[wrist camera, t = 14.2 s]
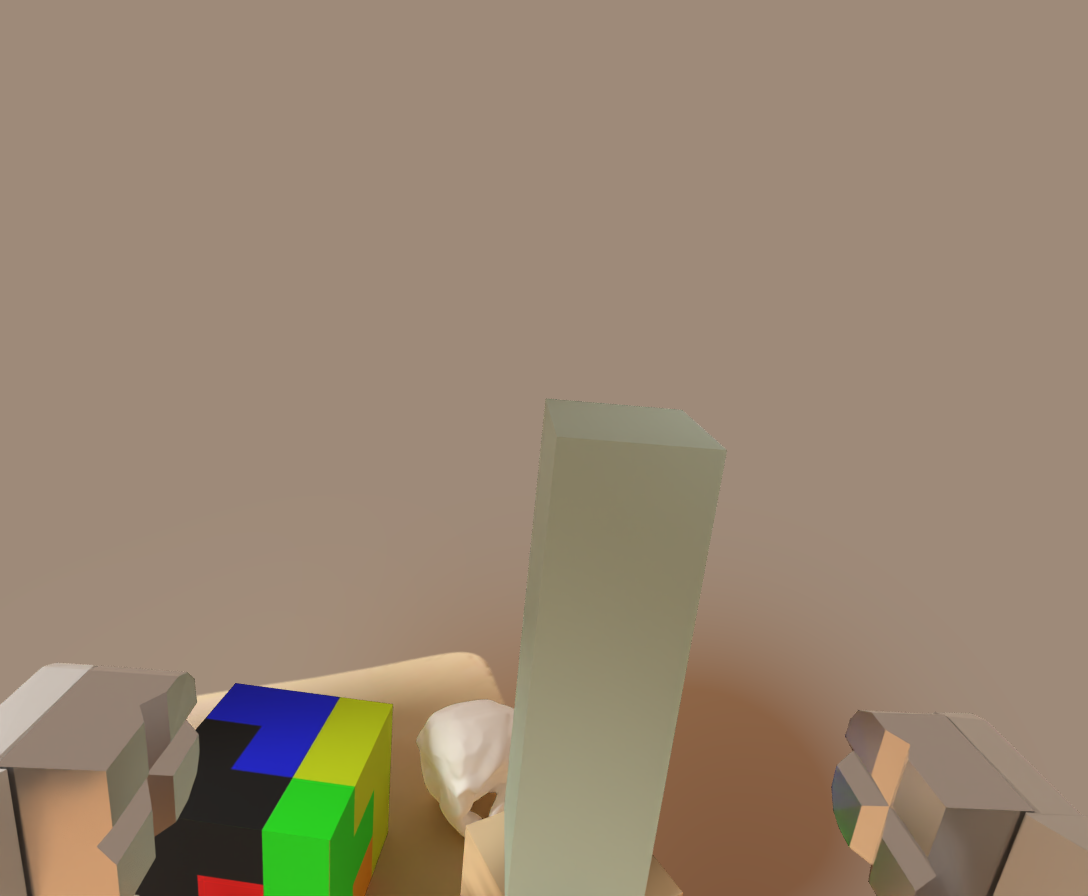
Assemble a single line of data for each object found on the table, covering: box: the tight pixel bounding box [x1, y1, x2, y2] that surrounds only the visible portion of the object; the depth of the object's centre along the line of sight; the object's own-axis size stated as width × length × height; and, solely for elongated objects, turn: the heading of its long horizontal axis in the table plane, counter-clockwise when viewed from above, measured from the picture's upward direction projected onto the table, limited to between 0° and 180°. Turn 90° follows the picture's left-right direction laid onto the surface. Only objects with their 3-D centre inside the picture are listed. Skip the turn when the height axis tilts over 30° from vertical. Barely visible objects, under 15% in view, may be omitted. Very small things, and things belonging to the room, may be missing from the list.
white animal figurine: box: [416, 699, 514, 838], centre depth 46 cm, size 6×8×12 cm
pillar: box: [504, 399, 727, 896], centre depth 26 cm, size 6×6×20 cm
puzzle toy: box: [135, 683, 393, 896], centre depth 38 cm, size 10×10×10 cm
